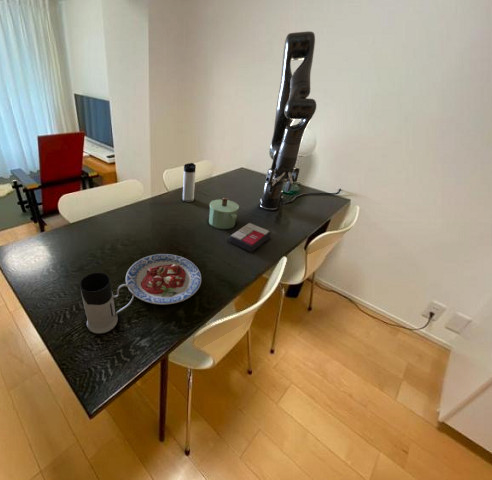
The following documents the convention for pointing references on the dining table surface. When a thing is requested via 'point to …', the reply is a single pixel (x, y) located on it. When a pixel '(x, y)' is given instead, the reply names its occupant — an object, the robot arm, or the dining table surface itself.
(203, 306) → the dining table surface
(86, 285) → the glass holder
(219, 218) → the pot
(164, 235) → the dining table surface
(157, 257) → the ceramic plate
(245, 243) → the black square box
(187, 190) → the travel mug
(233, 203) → the pot lid
